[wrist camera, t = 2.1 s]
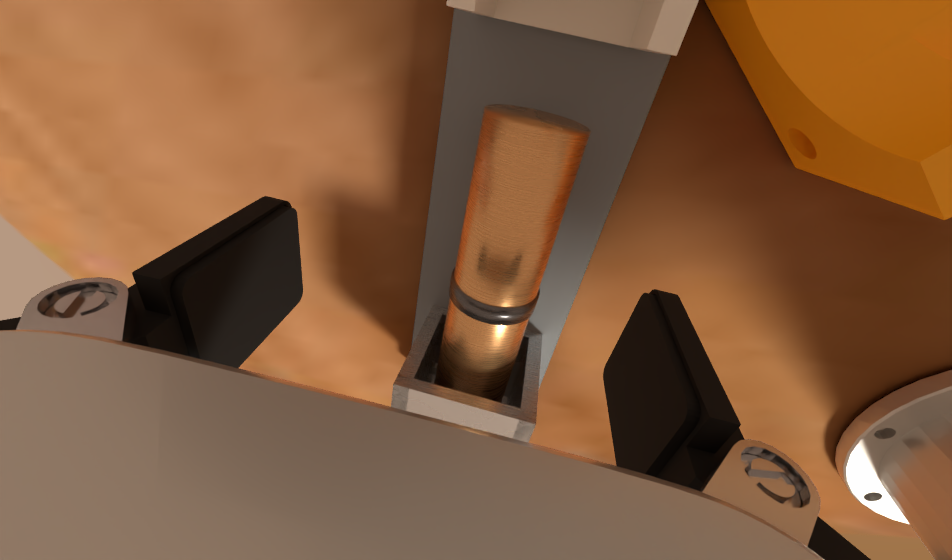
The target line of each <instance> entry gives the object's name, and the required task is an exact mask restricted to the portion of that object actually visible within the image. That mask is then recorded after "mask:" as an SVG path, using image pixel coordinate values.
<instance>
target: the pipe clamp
mask: <svg viewBox="0 0 952 560" xmlns="http://www.w3.org/2000/svg"><path fill="white" fill-rule="evenodd" d="M705 2H706V4H707V6H708V8H709V10H710V11H711V13H712V15H713V17H714V19H715V21H716V23H717V24H718V26H719V28H720V30H721V32H722V34H723V35H724V37H725V39H726V41H727V43H728V45H729V46H730V48H731V50H732V52H733V54H734V56H735V58H736V59H737V61H738V63H739V65H740V67H741V69H742V70H743V72H744V74H745V76H746V78H747V80H748V82H749V83H750V85H751V87H752V89H753V91H754V93H755V94H756V96H757V98H758V100H759V102H760V104H761V105H762V107H763V109H764V111H765V113H766V115H767V117H768V118H769V120H770V122H771V124H772V126H773V128H774V129H775V131H776V133H777V135H778V137H779V139H780V140H781V142H782V144H783V146H784V148H785V150H786V152H787V153H788V155H789V157H790V159H791V161H792V163H793V164H794V166H795V168H798V169H800V170H803V171H806V172H809V173H812V174H815V175H817V176H820V177H823V178H826V179H829V180H832V181H834V182H837V183H840V184H843V185H846V186H848V187H851V188H854V189H857V190H860V191H863V192H865V193H868V194H871V195H874V196H877V197H880V198H882V199H885V200H888V201H891V202H894V203H897V204H899V205H902V206H905V207H908V208H911V209H914V210H916V211H919V212H922V213H925V214H928V215H931V216H933V217H936V218H939V219H942V220H947V219H949V218H951V217H952V0H705Z"/></svg>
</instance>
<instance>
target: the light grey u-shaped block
mask: <svg viewBox="0 0 952 560" xmlns="http://www.w3.org/2000/svg"><path fill="white" fill-rule="evenodd" d="M698 1H699V0H447V4H446V6H450V7H453V8H457V9H460V10H464V11H467V12H471V13H474V14H478V15H483V16H487V17H492V18H497V19H501V20H506V21H510V22H515V23H519V24H524V25H529V26H533V27H538V28H542V29H547V30H551V31H556V32H560V33H565V34H570V35H574V36H579V37H583V38H588V39H592V40H597V41H602V42H606V43H611V44H615V45H620V46H624V47H629V48H633V49H638V50H643V51H647V52H653V53H660V54H667V55H674V56H677V53H678V51H679V48H680V46H681V43H682V41H683V38H684V36H685V33H686V31H687V28H688V26H689V24H690V21H691V19H692V16H693V14H694V11H695V9H696V6H697V4H698Z"/></svg>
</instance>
